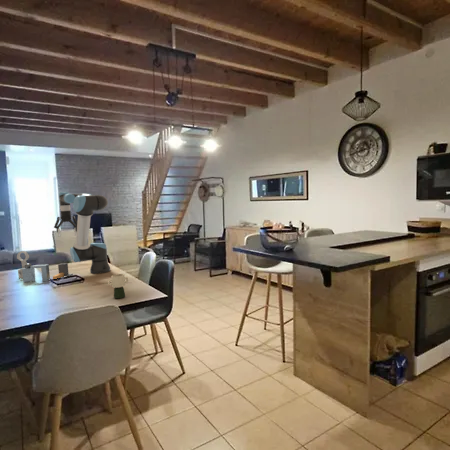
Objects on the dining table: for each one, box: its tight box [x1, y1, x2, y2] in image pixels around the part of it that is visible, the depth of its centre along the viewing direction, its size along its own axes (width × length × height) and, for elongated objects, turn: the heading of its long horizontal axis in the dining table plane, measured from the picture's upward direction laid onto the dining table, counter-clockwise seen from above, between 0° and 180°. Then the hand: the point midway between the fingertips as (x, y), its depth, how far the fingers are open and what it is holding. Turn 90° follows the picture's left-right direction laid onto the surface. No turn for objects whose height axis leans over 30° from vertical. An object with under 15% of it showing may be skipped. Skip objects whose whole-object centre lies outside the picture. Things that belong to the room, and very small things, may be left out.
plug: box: [52, 262, 70, 280], centre depth 243 cm, size 17×5×9 cm, turn 2°
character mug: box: [107, 273, 129, 299], centre depth 182 cm, size 11×7×13 cm, turn 121°
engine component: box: [16, 250, 30, 279], centre depth 251 cm, size 11×20×10 cm
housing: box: [21, 263, 51, 283], centre depth 235 cm, size 17×4×13 cm, turn 92°
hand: (67, 235), depth 271 cm, fingers open, 13 cm apart
